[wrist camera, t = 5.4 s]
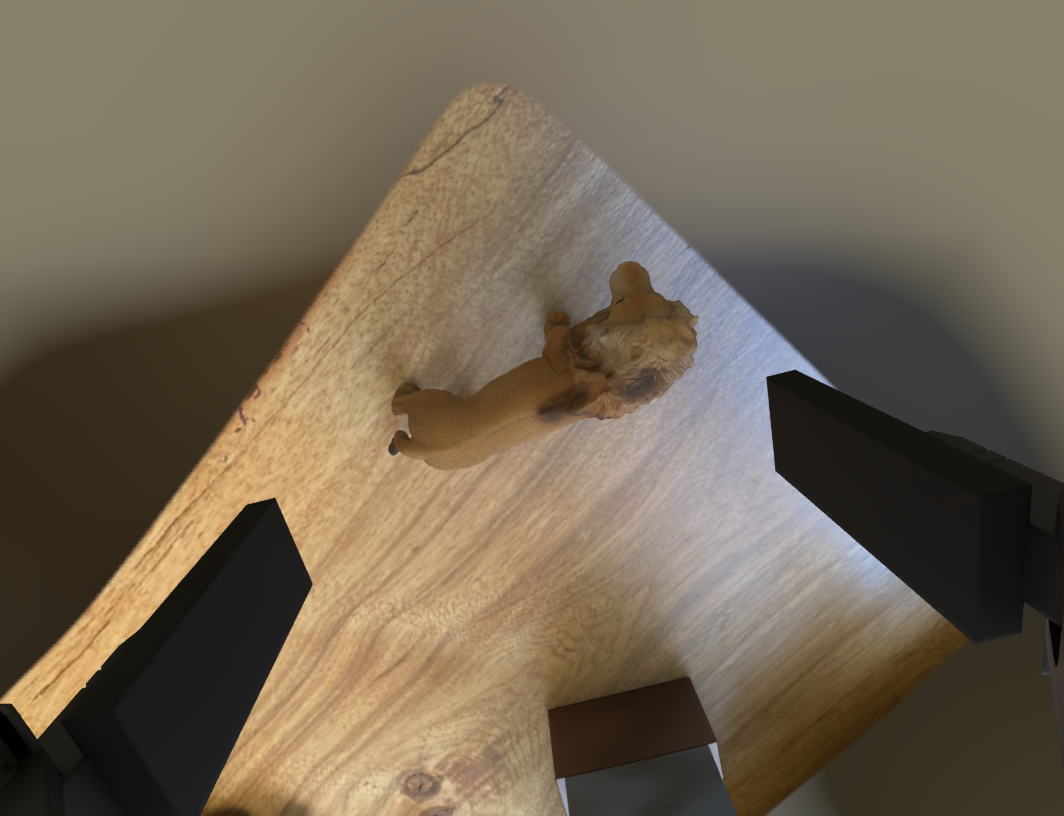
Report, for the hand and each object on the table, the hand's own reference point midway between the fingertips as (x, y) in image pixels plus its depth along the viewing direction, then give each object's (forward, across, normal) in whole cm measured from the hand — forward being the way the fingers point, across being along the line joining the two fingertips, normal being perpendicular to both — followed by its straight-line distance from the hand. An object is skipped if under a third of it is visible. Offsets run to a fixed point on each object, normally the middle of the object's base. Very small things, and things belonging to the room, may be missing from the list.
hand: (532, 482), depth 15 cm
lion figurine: (+14, 0, 0) cm, 14 cm away
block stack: (+13, +1, -28) cm, 31 cm away
